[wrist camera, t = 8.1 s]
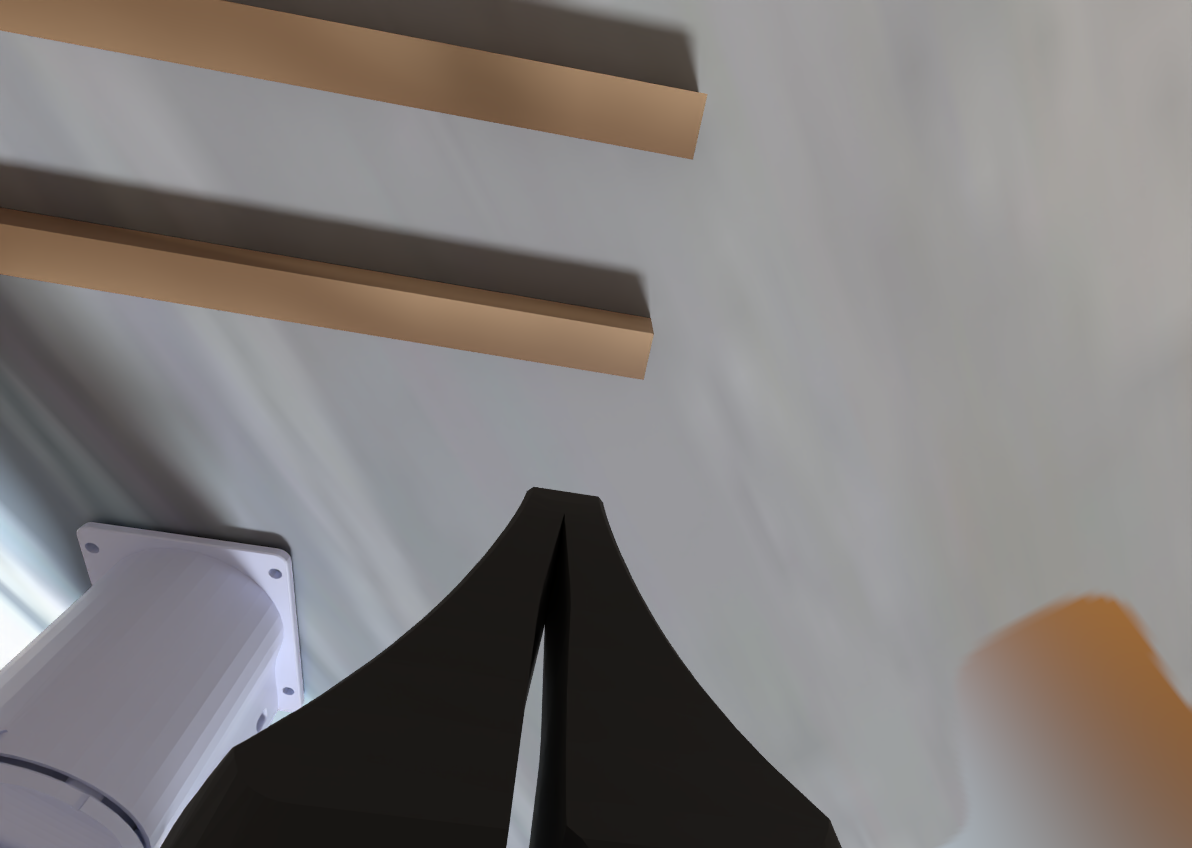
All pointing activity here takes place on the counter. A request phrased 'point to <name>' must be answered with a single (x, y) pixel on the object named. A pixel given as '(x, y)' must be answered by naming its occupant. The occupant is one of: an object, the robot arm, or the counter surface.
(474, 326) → the guide channel
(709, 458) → the counter surface
